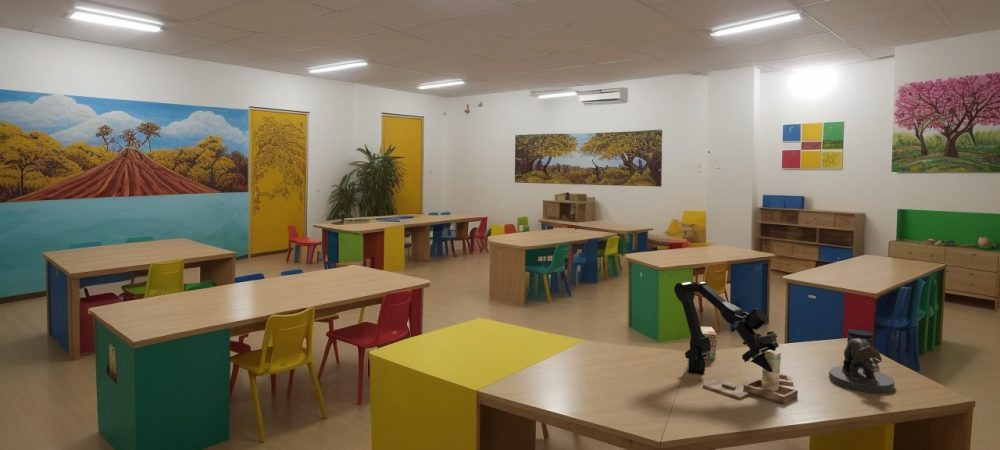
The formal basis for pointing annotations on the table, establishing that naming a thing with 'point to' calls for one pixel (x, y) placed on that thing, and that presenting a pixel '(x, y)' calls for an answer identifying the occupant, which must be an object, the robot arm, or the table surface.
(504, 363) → the table surface
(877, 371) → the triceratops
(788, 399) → the tan wooden shallow tray
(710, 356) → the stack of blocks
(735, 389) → the lid
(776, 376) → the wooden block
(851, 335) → the storage jar
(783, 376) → the square wooden frame
